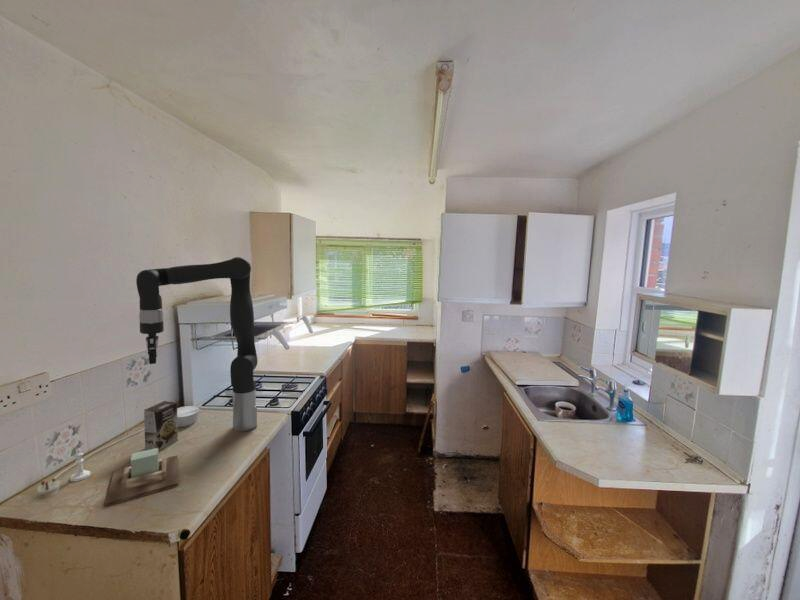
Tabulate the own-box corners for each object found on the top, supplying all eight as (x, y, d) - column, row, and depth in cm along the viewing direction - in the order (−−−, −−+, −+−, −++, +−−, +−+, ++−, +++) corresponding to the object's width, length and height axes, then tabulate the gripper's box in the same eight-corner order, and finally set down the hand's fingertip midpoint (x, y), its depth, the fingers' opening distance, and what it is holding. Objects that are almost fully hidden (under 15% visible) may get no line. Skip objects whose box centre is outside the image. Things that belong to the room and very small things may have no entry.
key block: (133, 475, 111) (132, 453, 110) (158, 469, 115) (158, 447, 114) (131, 483, 107) (130, 460, 106) (158, 476, 111) (157, 454, 110)
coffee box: (158, 452, 126) (157, 412, 125) (144, 449, 128) (142, 409, 126) (178, 440, 135) (177, 402, 133) (165, 437, 136) (164, 400, 135)
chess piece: (79, 472, 113) (77, 444, 112) (94, 472, 114) (92, 444, 112) (65, 481, 108) (63, 452, 107) (82, 481, 109) (80, 452, 108)
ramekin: (189, 429, 144) (188, 417, 144) (163, 427, 144) (163, 416, 144) (204, 417, 155) (204, 406, 155) (181, 415, 155) (180, 405, 155)
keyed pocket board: (177, 457, 124) (177, 448, 123) (178, 485, 109) (177, 475, 108) (114, 473, 113) (113, 463, 113) (105, 506, 99) (105, 495, 98)
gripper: (140, 318, 133) (142, 357, 135) (138, 324, 122) (140, 367, 124) (163, 317, 138) (164, 354, 140) (163, 323, 126) (164, 364, 128)
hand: (153, 360), depth 132 cm, fingers open, 8 cm apart
